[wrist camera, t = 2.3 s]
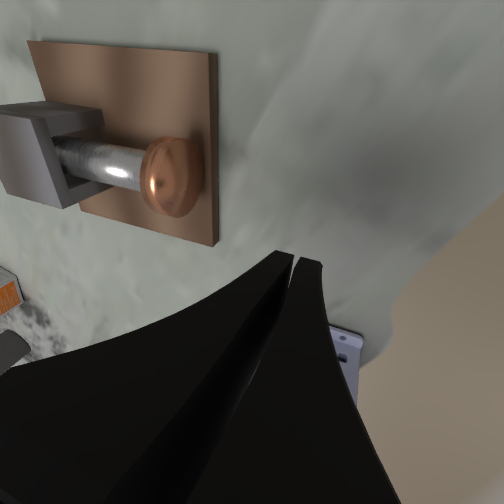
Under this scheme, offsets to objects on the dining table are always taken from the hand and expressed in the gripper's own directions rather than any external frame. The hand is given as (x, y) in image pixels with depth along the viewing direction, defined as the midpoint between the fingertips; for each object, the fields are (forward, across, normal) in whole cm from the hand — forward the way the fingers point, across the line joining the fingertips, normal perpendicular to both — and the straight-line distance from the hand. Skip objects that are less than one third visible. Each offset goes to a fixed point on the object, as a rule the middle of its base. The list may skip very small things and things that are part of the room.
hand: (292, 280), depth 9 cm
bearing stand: (+9, +14, 0) cm, 17 cm away
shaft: (+8, +13, 0) cm, 15 cm away
